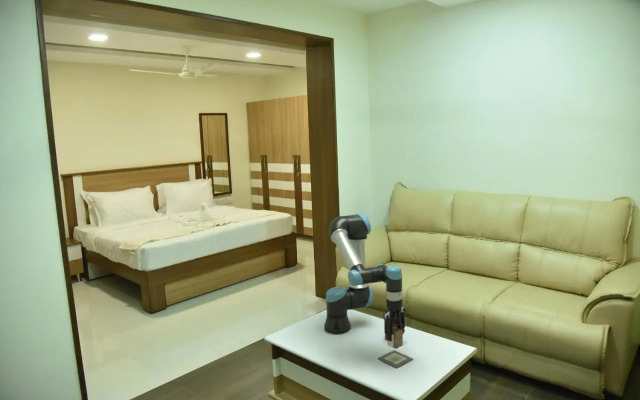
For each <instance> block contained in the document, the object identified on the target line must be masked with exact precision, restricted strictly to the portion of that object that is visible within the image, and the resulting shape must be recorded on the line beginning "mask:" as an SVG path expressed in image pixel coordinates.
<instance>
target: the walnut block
mask: <svg viewBox="0 0 640 400" xmlns="http://www.w3.org/2000/svg"><path fill="white" fill-rule="evenodd" d="M393 335H394V348H393V349H394V350H395V349H396V350H397V349H398V348H400V347H401V348H402V346H404V344H403V343H404V342H403V341H404V340H403V337H404V336H403V335H404V334H403V331H402V329H399V328H397V327H393ZM387 346H388V347H390V346H389V341H388V340H387Z"/></svg>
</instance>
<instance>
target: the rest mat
mask: <svg viewBox="0 0 640 400" xmlns="http://www.w3.org/2000/svg"><path fill="white" fill-rule="evenodd" d="M377 360H379V361H380V362H383V363H384V364H387V365H388V366H390V367H392V368H394V369H398V368H401V367H403V366H404V365H407V364H408V363H409V362H411V361H413V360H414V358H412V357H410V356H408V355H405V354H403V353H401V352H399V351H397V350H395V349H394V350H392V351H390V352H388V353H386V354H383V355H382V356H379V357H377Z"/></svg>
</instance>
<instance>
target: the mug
mask: <svg viewBox="0 0 640 400" xmlns="http://www.w3.org/2000/svg"><path fill="white" fill-rule="evenodd" d="M394 327H397V324H396V319H395V321H394ZM403 329H404V331H403V335H404V334H405V333H406V329H405V328H403ZM384 338H385V340H386V341H388V335H387V334H385V333H384Z"/></svg>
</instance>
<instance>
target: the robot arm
mask: <svg viewBox="0 0 640 400" xmlns="http://www.w3.org/2000/svg"><path fill="white" fill-rule="evenodd" d="M371 231H372V225H371V221H370V219H369V218H368V216H367V215H365V214H364V213H363V214H362V213H361V214H360V213H359V214H357V213H355V214H349V215H340V216H337V217H335V218H334V219H333V220H332V221H331V223H330V225H329V229H328V235H329V238H330V241H331V242H332V243H334V244H335V246H336V248H337V249H338V252H339V254H340V256H341V258H342V259H343V261H344V263H345V265H346V267H347V269H348V271H347V272H348V273H347V280H348V287H347V288H346V287H344V286H335V287H331V288H329V289H328V290H327V291H326V292H325V293H326V294H325V296H326V297H325V301H326V302H325V303H326V304H325V306H326V317H325V321H324V324H323V327H324V328H323V329H324V331H325V332H326V333H327V334H332V335H343V334H347V333H348V332H350V331H351V330H352V329H351V326H352V325H351V322H350V320H349V316H348V311H349V310H355V309H362V308H363V309H364V308H367V307H369V306H371V304H372V302H373V300H374V293H373V289H372V287H371V286H370V284H375V283H381V282H383V283H385V290H386V291H385V294H386V296H385V298H386V308H387V312H386V313H384V314H383V319H384V320H383V327H384V331H383V333H384V335H385V334H387V335H388V340H387V342H388V341H389V346H388V347H389V348H392V349H395V348H394V335H393V327H394V321H395V320H396V324H397V328H399V329H402V331H404V329H405V328H406V309H407V308H405V307H403V271H402V270H403V269H402V267H401V266H398V265H389V266H388V265H385V264H383V263H378V264H376V265H375V266H373V267H367V268H366V249H365V248H366V247H365V246H366V245H365V241H366V240H367V239H368V235H370V234H371ZM403 328H404V329H403Z"/></svg>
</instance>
